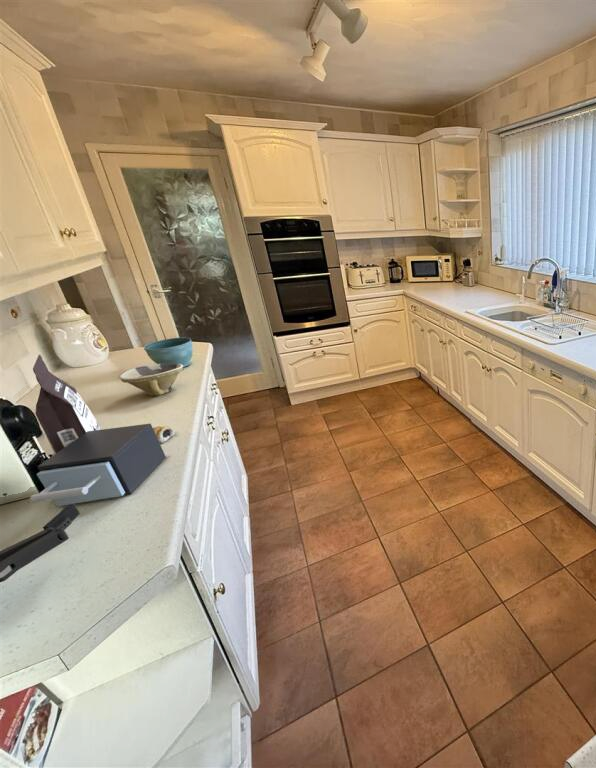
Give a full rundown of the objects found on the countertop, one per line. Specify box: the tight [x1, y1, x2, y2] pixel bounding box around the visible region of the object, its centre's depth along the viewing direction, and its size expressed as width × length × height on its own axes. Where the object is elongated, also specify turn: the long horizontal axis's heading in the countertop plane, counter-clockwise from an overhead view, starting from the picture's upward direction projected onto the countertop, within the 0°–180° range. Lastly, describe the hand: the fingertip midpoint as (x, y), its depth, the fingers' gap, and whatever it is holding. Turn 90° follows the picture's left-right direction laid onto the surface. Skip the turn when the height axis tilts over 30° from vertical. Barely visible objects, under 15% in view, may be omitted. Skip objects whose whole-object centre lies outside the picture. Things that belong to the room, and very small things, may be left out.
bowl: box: [118, 363, 184, 397], centre depth 147 cm, size 18×18×10 cm
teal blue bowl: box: [143, 337, 194, 368], centre depth 172 cm, size 16×16×11 cm
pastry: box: [152, 425, 176, 444], centre depth 116 cm, size 9×7×4 cm
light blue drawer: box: [29, 460, 125, 507], centre depth 92 cm, size 21×13×9 cm, turn 15°
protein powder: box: [32, 354, 102, 455], centre depth 104 cm, size 16×9×28 cm, turn 44°
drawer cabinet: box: [37, 423, 167, 496], centre depth 97 cm, size 16×14×11 cm
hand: (32, 515), depth 77 cm, fingers open, 13 cm apart
